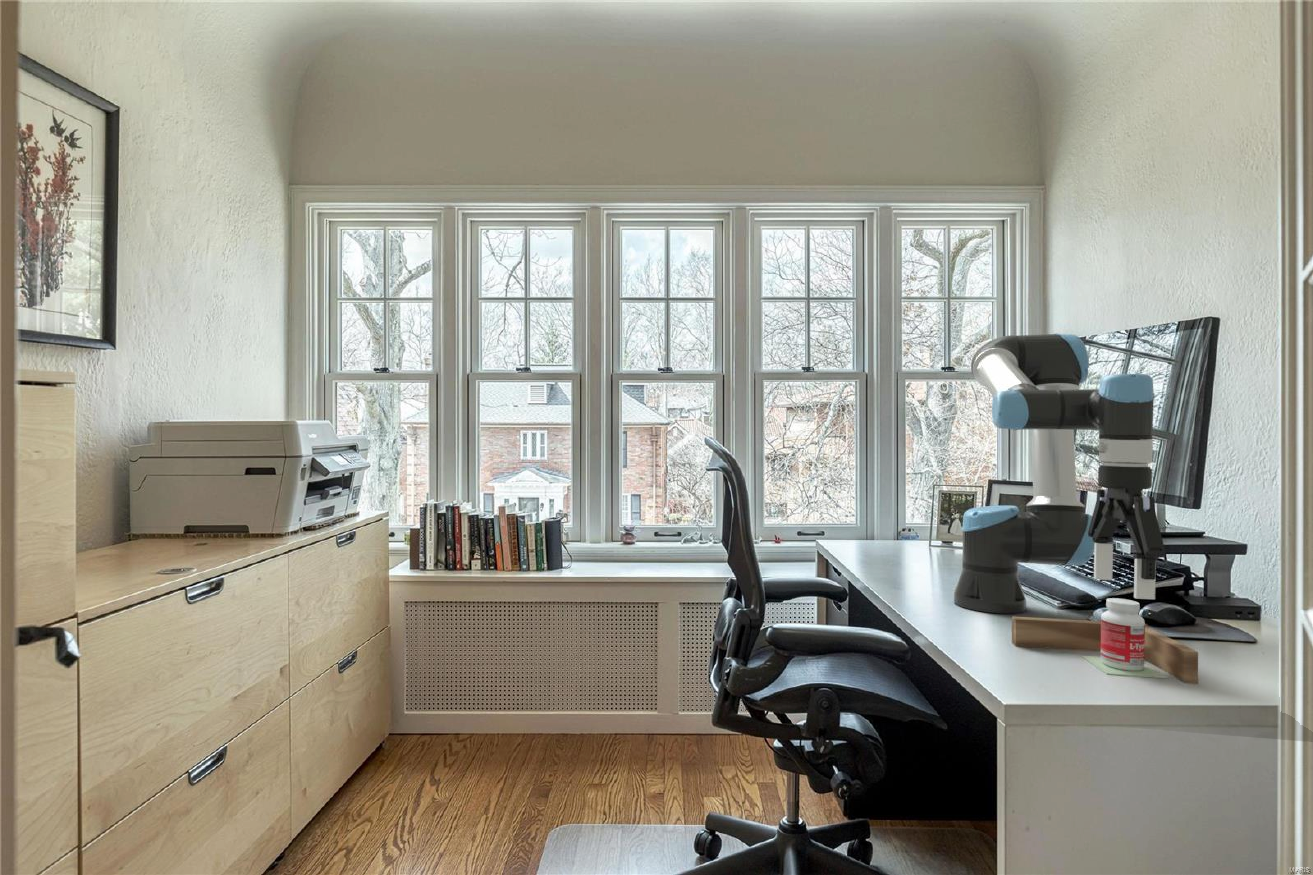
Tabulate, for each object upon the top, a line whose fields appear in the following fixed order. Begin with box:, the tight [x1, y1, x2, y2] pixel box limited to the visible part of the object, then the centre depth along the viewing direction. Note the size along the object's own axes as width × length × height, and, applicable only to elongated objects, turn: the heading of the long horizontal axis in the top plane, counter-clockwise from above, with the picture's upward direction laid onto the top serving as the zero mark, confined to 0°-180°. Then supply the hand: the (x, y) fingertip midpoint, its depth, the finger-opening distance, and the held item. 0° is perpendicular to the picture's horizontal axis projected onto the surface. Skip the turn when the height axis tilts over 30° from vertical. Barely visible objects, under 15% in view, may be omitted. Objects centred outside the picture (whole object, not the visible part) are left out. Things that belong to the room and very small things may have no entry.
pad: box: [1081, 655, 1169, 679], centre depth 113 cm, size 9×9×1 cm
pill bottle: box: [1100, 597, 1146, 671], centre depth 113 cm, size 6×6×11 cm
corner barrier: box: [1011, 616, 1199, 684], centre depth 116 cm, size 17×22×5 cm
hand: (1122, 588), depth 114 cm, fingers open, 13 cm apart
